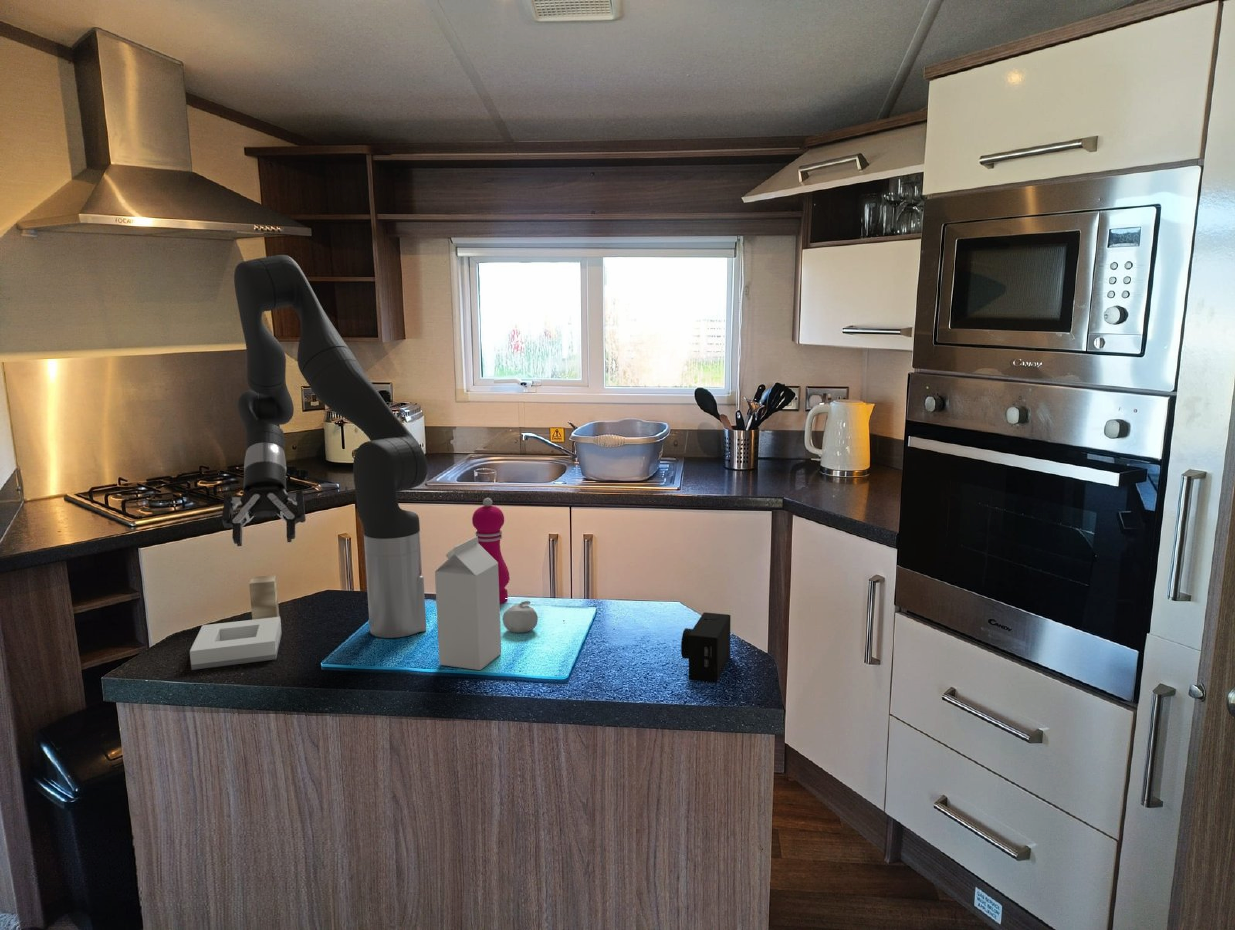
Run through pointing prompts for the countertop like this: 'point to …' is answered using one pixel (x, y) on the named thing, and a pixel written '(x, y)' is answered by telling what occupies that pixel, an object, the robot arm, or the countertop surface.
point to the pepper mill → (492, 539)
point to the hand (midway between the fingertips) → (264, 542)
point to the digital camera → (707, 647)
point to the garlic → (520, 618)
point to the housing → (236, 643)
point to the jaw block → (264, 597)
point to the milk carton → (468, 607)
